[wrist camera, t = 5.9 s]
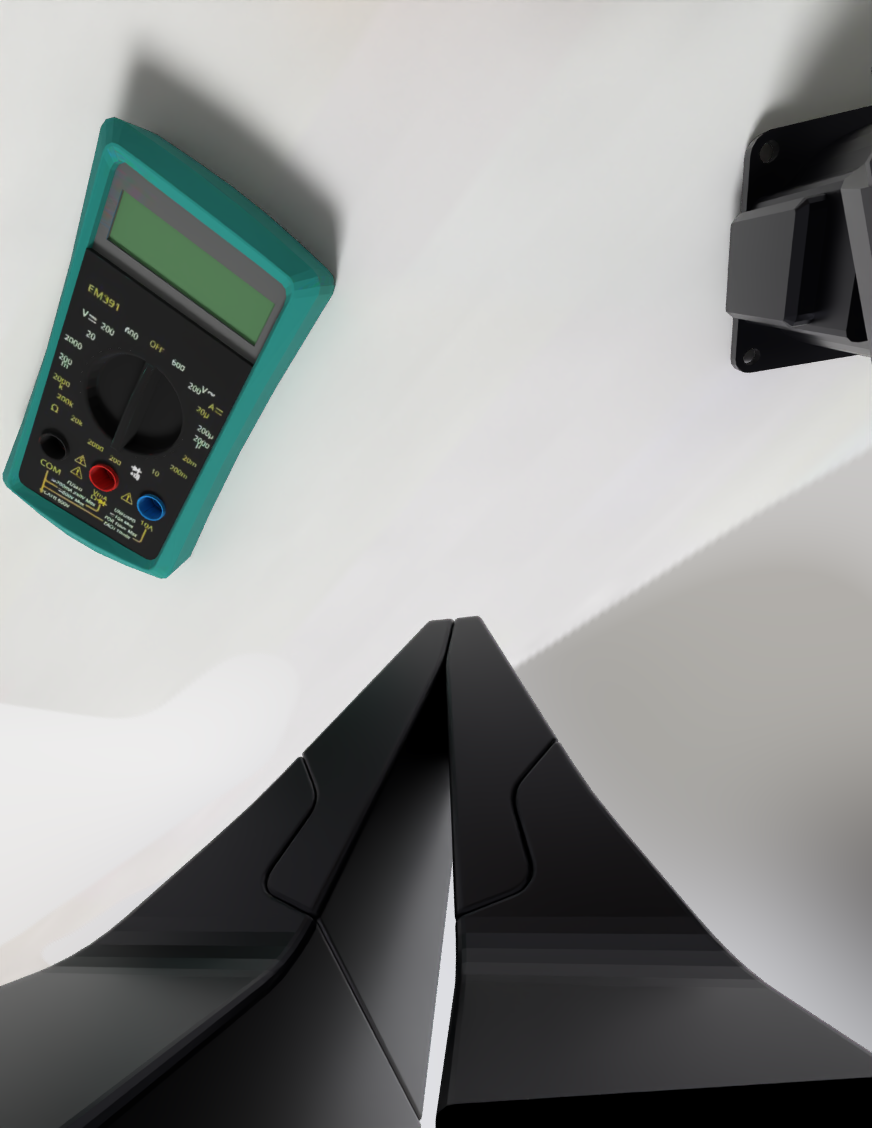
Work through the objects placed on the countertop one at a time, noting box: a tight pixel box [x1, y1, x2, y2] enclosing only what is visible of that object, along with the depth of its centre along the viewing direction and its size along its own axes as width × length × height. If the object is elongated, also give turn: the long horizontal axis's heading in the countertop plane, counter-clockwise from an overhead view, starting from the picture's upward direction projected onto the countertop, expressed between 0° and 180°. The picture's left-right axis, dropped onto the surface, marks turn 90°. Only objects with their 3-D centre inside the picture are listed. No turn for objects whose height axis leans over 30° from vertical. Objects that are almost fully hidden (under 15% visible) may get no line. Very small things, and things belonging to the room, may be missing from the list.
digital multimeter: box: [3, 117, 335, 578], centre depth 19 cm, size 7×15×3 cm, turn 144°
